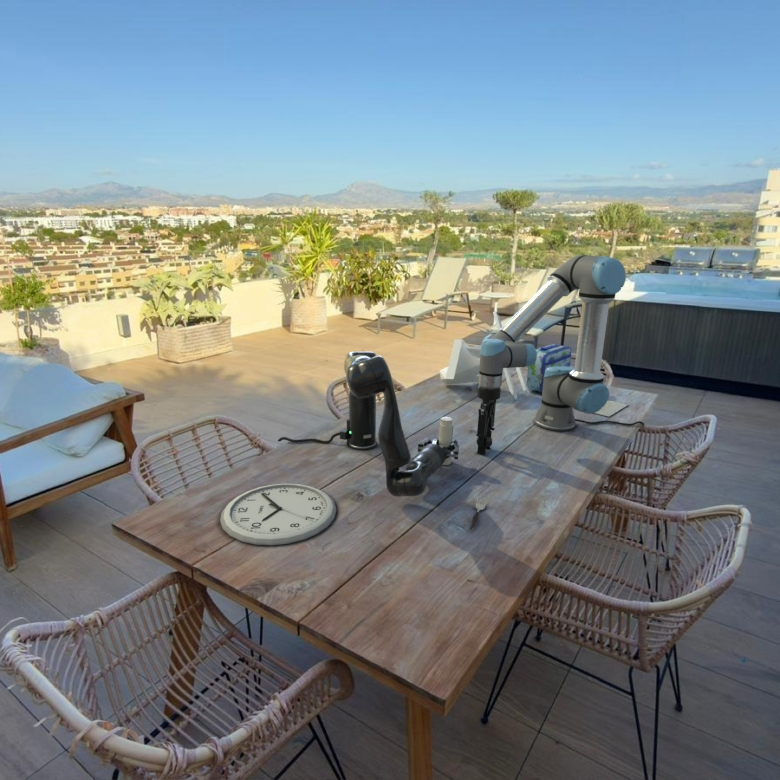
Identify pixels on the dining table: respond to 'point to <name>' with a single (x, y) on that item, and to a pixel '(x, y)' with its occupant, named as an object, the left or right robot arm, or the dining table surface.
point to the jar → (446, 434)
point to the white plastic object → (473, 365)
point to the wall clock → (278, 514)
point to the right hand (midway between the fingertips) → (483, 450)
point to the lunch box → (547, 364)
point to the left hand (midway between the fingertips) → (448, 440)
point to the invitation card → (611, 408)
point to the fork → (478, 507)
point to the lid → (489, 441)
